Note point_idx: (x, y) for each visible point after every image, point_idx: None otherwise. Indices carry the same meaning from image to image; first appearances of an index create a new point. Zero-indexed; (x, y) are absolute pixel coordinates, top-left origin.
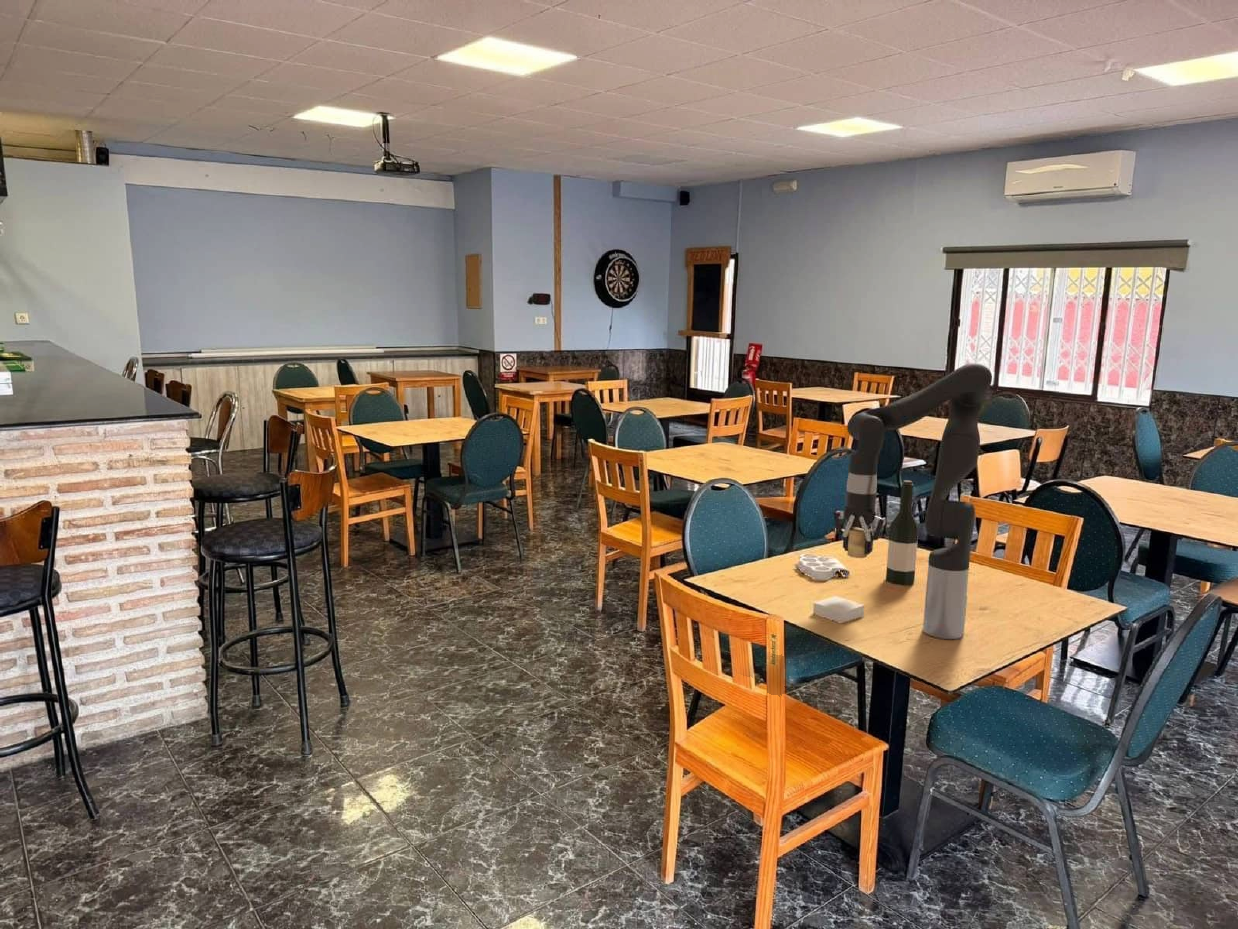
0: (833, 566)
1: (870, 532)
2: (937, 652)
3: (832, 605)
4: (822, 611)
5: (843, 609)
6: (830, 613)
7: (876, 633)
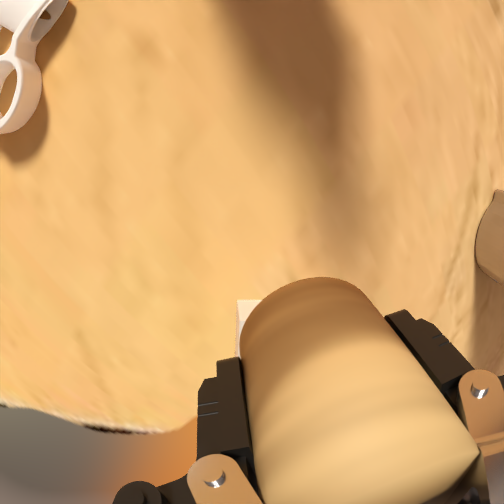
0: (4, 18)
1: (495, 440)
2: (498, 324)
3: None
4: None
5: None
6: None
7: None
